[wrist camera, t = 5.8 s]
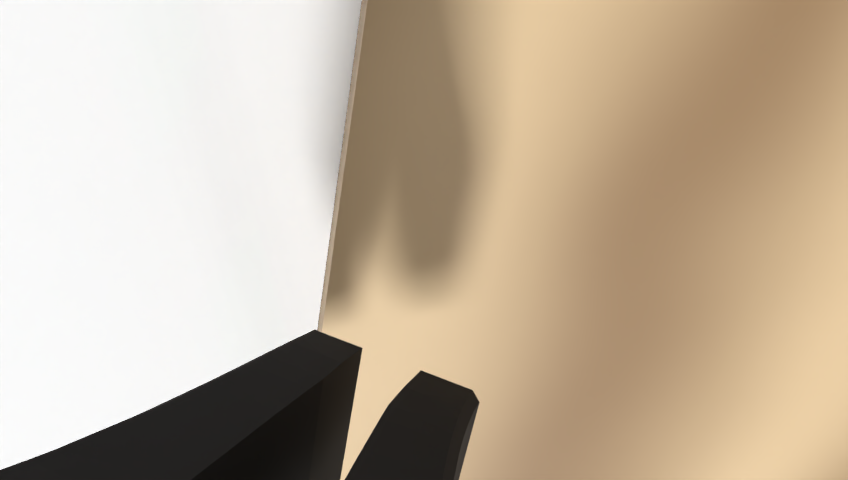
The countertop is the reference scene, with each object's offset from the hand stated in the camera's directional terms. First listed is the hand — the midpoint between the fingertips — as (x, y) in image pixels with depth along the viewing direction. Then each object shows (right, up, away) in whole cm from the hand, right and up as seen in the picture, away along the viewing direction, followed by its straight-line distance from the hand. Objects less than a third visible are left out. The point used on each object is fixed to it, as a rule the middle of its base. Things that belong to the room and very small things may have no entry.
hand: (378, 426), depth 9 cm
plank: (+3, +1, +4) cm, 5 cm away
